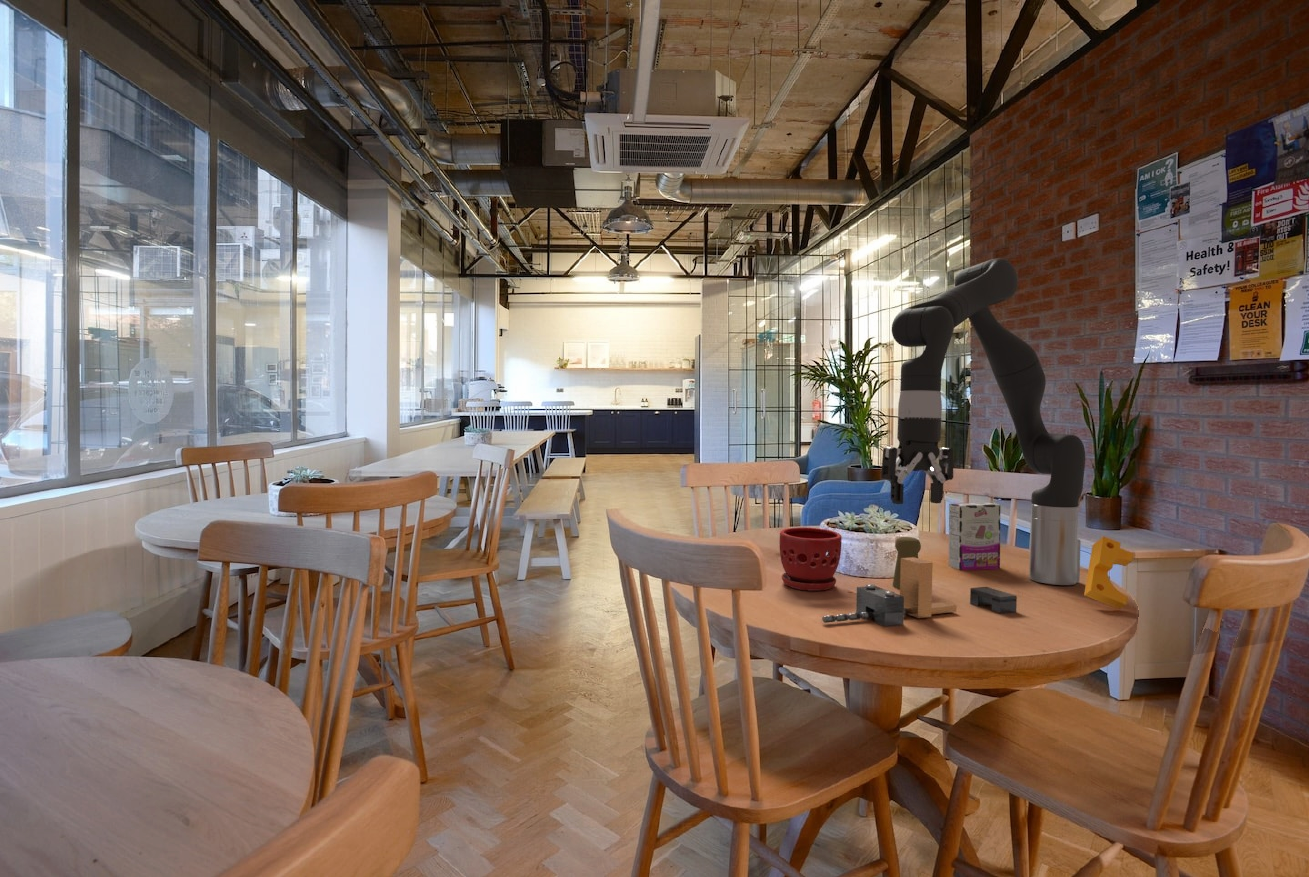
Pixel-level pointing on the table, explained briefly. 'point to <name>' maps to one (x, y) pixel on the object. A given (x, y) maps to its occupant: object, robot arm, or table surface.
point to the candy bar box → (974, 536)
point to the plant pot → (810, 557)
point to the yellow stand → (1106, 572)
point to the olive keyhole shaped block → (904, 554)
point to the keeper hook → (993, 599)
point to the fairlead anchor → (881, 604)
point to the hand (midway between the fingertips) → (916, 503)
